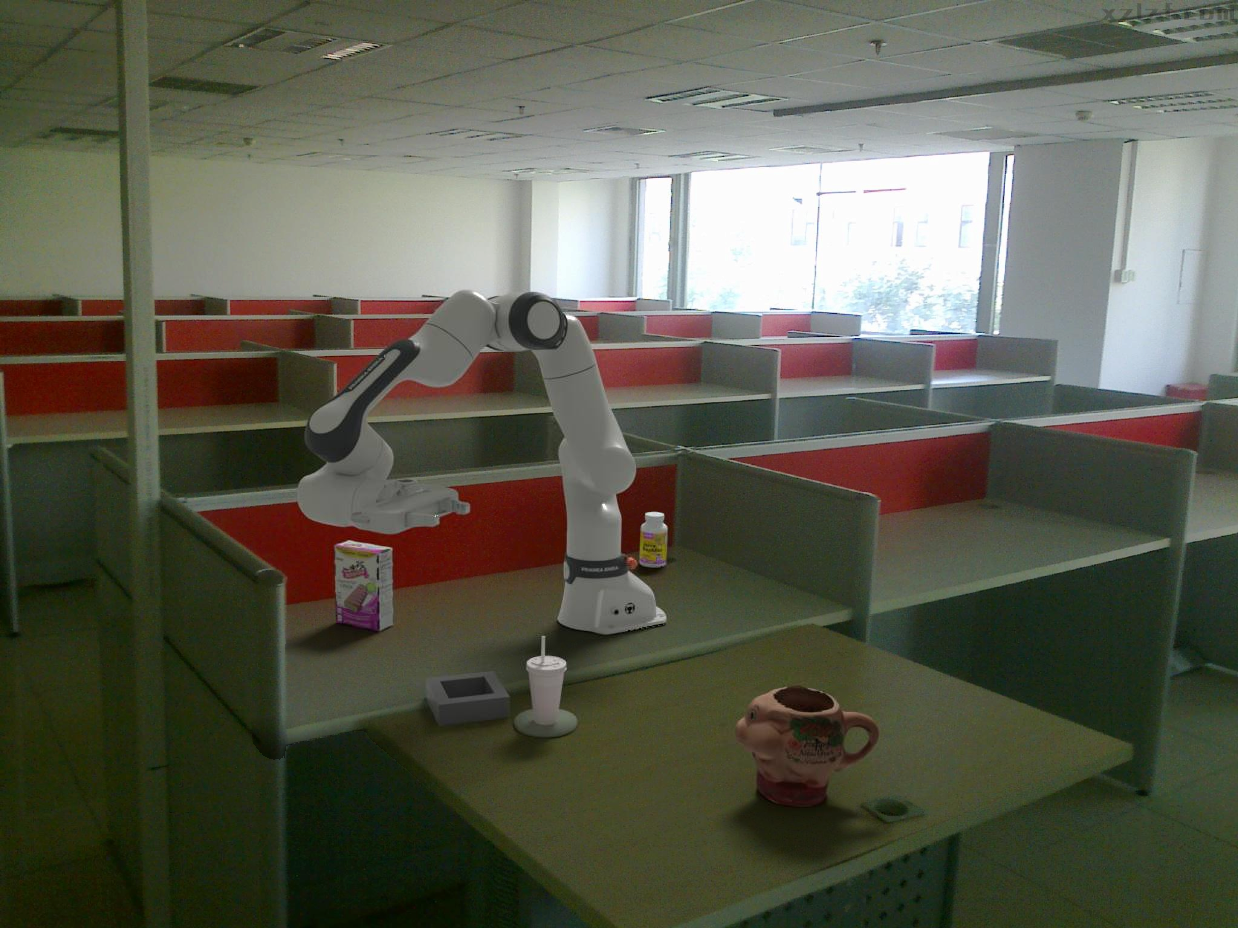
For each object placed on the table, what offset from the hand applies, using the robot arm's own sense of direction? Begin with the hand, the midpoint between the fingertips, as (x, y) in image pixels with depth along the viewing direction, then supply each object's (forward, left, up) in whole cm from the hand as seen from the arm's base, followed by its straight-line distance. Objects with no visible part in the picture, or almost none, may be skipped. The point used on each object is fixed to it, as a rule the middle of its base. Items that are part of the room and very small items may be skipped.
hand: (452, 514), depth 174 cm
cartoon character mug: (-40, +47, -32) cm, 70 cm away
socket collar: (-1, +5, -32) cm, 32 cm away
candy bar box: (+10, -41, -32) cm, 53 cm away
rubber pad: (-12, +15, -32) cm, 37 cm away
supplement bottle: (-63, -67, -32) cm, 97 cm away
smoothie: (-12, +15, -31) cm, 37 cm away
